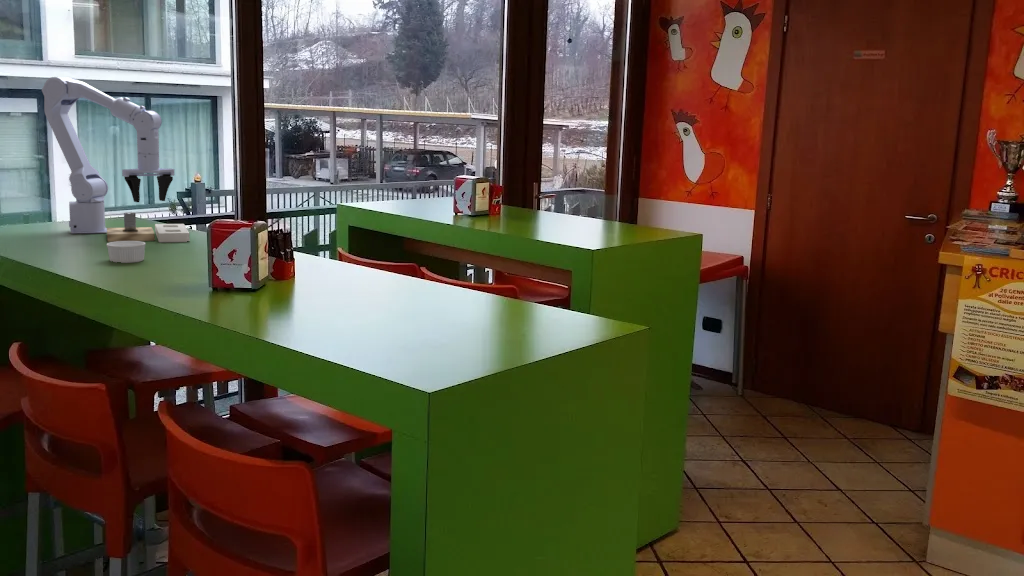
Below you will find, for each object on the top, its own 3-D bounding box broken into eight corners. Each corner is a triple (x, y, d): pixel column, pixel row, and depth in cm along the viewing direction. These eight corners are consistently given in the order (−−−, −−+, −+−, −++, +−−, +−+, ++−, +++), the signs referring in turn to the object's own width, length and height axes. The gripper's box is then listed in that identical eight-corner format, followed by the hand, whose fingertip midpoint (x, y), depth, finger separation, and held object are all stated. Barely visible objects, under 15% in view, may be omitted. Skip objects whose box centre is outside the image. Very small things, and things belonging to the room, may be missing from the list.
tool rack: (159, 242, 252) (158, 233, 251) (155, 232, 268) (155, 224, 267) (189, 241, 255) (189, 233, 254) (183, 232, 271) (183, 223, 270)
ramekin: (107, 264, 219) (106, 246, 218) (107, 257, 227) (106, 240, 226) (146, 263, 223) (146, 245, 222) (145, 256, 231) (144, 240, 230)
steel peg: (125, 238, 255) (124, 213, 253) (124, 237, 257) (123, 212, 256) (136, 238, 256) (135, 213, 255) (136, 236, 259) (135, 212, 257)
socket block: (107, 241, 249) (107, 234, 249) (107, 234, 260) (106, 227, 259) (154, 240, 254) (154, 233, 253) (152, 234, 265) (151, 227, 264)
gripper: (129, 154, 250) (131, 204, 252) (179, 154, 260) (180, 201, 263) (118, 152, 254) (119, 201, 257) (167, 152, 265) (168, 198, 268)
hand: (149, 201), depth 260 cm, fingers open, 7 cm apart
